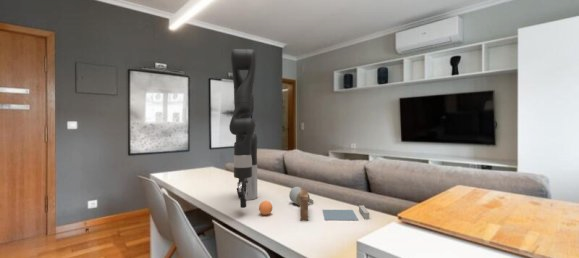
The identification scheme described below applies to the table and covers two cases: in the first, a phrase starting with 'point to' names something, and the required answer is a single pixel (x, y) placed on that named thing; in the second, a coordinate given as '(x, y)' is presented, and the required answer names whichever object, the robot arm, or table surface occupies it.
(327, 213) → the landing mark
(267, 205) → the ball
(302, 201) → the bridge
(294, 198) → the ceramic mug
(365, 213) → the stopper
